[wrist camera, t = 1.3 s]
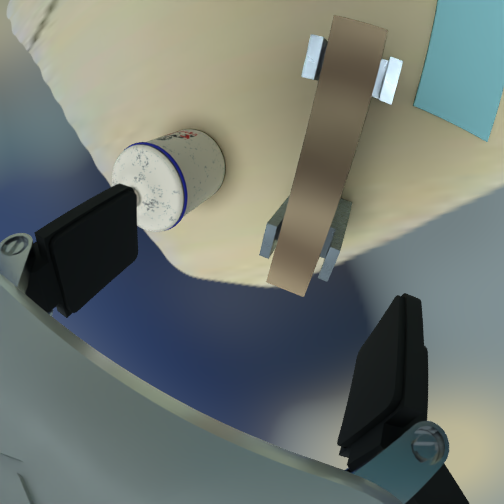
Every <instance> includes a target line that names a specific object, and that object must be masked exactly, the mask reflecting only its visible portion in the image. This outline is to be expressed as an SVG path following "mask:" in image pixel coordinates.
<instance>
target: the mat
mask: <svg viewBox="0 0 504 504" xmlns="http://www.w3.org/2000/svg"><path fill="white" fill-rule="evenodd" d="M503 87H504V0H438V1H437V7H436V13H435V18H434V23H433V28H432V33H431V37H430V42H429V46H428V51H427V55H426V59H425V63H424V67H423V71H422V75H421V79H420V83H419V86H418V90H417V93H416V97H415V100H414V104H413V106H415V107H418V108H420V109H422V110H425V111H427V112H429V113H431V114H434V115H436V116H438V117H440V118H442V119H444V120H446V121H448V122H450V123H452V124H454V125H456V126H458V127H460V128H462V129H464V130H466V131H468V132H470V133H472V134H474V135H475V136H477V137H479V138H481V139H483V140H484V141H486V142H487V141H488V138H489V135H490V132H491V129H492V126H493V123H494V120H495V117H496V113H497V110H498V106H499V103H500V99H501V95H502V91H503Z"/></svg>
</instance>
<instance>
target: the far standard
mask: <svg viewBox="0 0 504 504" xmlns="http://www.w3.org/2000/svg"><path fill="white" fill-rule="evenodd" d="M289 197H290V195H289ZM289 197H288V198H287V199H286V200H285V202H284V203H283V204H282V205H281V206H280V208H279V209H278V210H277V211H276V213H275V214H274V215H273V216H272V218H271V219H270V220H269V221H268V223H267V225H266V229H265V234H264V238H263V242H262V246H261V250H260V254H259V255H260V256H263V257H265V258H268V259H269V257H270V256H271V254H272V253H273V251H274V250H275V248H276V245H277V241H278V238H279V234H280V230H281V227H282V223H283V219H284V215H285V212H286V208H287V204H288V200H289ZM351 206H352V202H350V201H347V200H344V199H342V198H340V200H339V203H338V206H337V209H336V212H335V215H334V218H333V221H332V223H331V226H330V229H329V232H328V235H327V237H326V240H325V243H324V245H323V248H322V251H321V254H320V257H322V258H325V259H324V262H323V265H322V268H321V271H320V273H319V276H318V278H320V279H322V280H324V281H328V279H329V276H330V274H331V272H332V269H333V267H334V265H335V262H336V260H337V257H338V255H339V253H340V250H341V246H342V242H343V238H344V235H345V231H346V227H347V223H348V219H349V215H350V210H351Z"/></svg>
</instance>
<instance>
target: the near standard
mask: <svg viewBox="0 0 504 504" xmlns="http://www.w3.org/2000/svg"><path fill="white" fill-rule="evenodd" d="M327 44H328V41H327V40H326V39H325V38H324V37H321V36H317V35H312V34H311V36H310V41H309V45H308V50H307V54H306V59H305V63H304V67H303V72H302V76H301V77H305V78H309V79H313V80H319V78H320V73H321V69H322V65H323V61H324V56H325V52H326V48H327ZM402 63H403V61H401V60H399V59H396V58H393V57H390V59H389V61H387V60H384V59H381V63H380V67H379V70H378V74H377V78H376V82H375V86H374V89H373V93H372V97H375V98H377V99H379V100H380V101H383V102H386V103H389V104H392V100H393V97H394V93H395V90H396V86H397V82H398V79H399V75H400V71H401V67H402Z"/></svg>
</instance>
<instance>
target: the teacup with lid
mask: <svg viewBox="0 0 504 504" xmlns="http://www.w3.org/2000/svg"><path fill="white" fill-rule="evenodd" d="M224 174H225V163H224V158H223V155H222V153H221V150H220V148H219V147H218V145H217V144H216V143H215V141H214V140H213V139H212V138H211V137H209V136H208V135H206V134H205V133H203V132H201V131H198V130H193V129H185V130H181V131H178V132H174V133H171V134H168V135H165V136H162V137H159V138H156V139H153V140H151V141H148V142H139V143H135V144H132V145H130V146H129V147H127V148H126V149H125V150H124V151H123V152H122V153H121V154H120V155H119V157H118V158H117V160H116V162H115V165H114V168H113V174H112V184H113V186H115V185H116V184H119V183H120V184H123V185H126V186H129V187H132V188H133V189H134V191H135V194H136V195H137V226H139V227H141V228H143V229H145V230H149V231H156V232H158V231H165V230H168V229H171V228H173V227H174V226H176V225H177V224H178V223H179V222H180V221H181V219H182V218H183V216H185V215H186V214H187V213H189V212H190V211H191V210H193V209H194V208H196V207H197V206H198V205H200V204H201V203H202V202H204V201H205V200H206V199H208V198H209V197H211V196H212V195H213V194H214V193H216V191H217V190H218V189H219V188H220V186H221V184H222V182H223V179H224Z"/></svg>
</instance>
